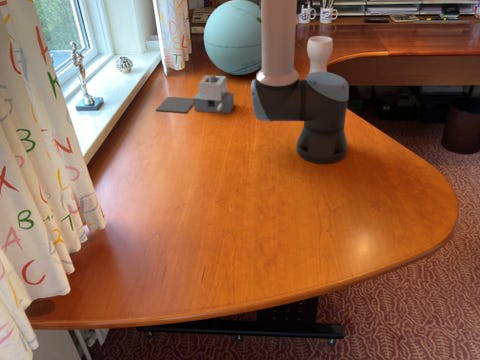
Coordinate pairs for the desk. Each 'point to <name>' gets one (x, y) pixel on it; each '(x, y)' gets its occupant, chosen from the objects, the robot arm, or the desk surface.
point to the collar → (212, 88)
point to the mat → (176, 105)
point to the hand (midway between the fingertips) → (279, 21)
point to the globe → (235, 37)
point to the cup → (319, 52)
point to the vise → (214, 102)
